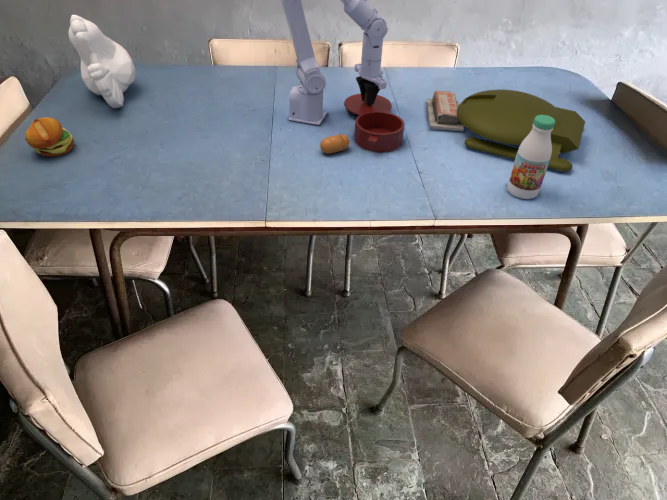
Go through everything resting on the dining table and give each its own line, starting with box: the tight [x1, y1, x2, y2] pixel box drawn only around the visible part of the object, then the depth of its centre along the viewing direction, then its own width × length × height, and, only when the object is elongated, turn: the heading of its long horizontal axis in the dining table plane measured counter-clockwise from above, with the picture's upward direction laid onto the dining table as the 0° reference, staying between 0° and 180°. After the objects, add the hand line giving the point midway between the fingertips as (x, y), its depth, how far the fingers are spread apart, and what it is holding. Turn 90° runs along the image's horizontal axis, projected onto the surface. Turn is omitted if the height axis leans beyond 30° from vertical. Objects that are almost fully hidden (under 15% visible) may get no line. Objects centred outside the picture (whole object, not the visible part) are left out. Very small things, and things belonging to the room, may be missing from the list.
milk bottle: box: [507, 115, 555, 200], centre depth 131 cm, size 8×8×20 cm
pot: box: [353, 109, 406, 153], centre depth 153 cm, size 13×19×5 cm
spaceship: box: [457, 89, 586, 173], centre depth 156 cm, size 35×31×10 cm
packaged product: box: [426, 90, 465, 133], centre depth 165 cm, size 18×5×10 cm
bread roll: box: [319, 133, 350, 155], centre depth 148 cm, size 8×4×4 cm, turn 119°
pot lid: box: [343, 92, 393, 116], centre depth 165 cm, size 14×14×5 cm
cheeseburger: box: [24, 116, 74, 157], centre depth 142 cm, size 10×11×10 cm
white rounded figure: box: [68, 14, 136, 109], centre depth 160 cm, size 25×16×25 cm
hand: (367, 102), depth 166 cm, fingers closed on pot lid, 2 cm apart
